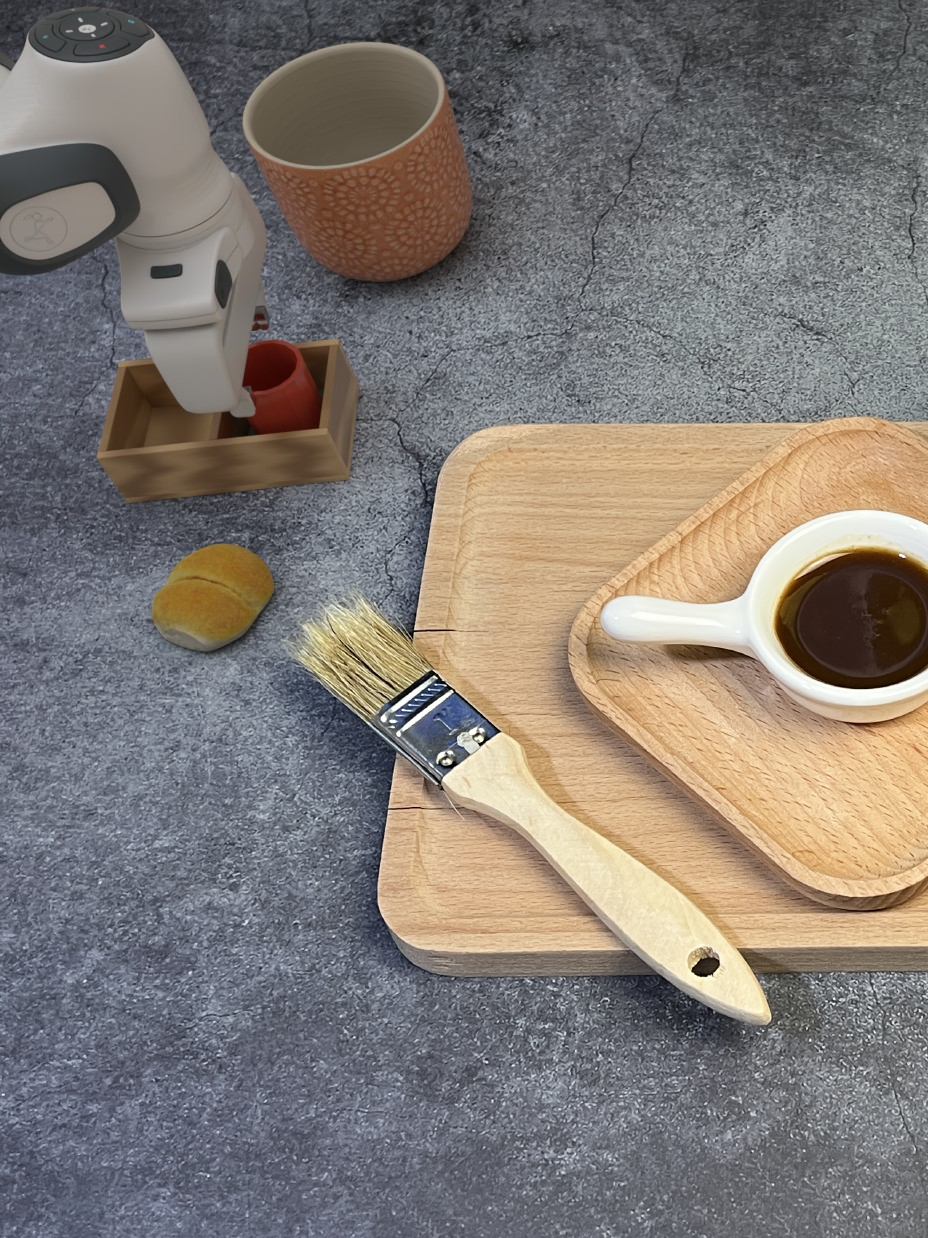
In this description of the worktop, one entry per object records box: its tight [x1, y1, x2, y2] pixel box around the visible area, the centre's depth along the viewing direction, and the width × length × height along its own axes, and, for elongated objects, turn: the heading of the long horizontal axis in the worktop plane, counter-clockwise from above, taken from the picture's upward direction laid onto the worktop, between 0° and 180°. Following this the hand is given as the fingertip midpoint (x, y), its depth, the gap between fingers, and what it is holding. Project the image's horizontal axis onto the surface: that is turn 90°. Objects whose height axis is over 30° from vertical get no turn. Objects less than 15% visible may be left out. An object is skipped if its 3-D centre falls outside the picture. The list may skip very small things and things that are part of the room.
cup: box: [242, 339, 323, 435], centre depth 122 cm, size 6×6×8 cm
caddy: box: [96, 338, 361, 504], centre depth 124 cm, size 18×11×6 cm, turn 96°
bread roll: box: [150, 543, 275, 652], centre depth 115 cm, size 8×9×4 cm
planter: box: [241, 41, 473, 283], centre depth 133 cm, size 17×17×15 cm
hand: (253, 366), depth 119 cm, fingers open, 8 cm apart
